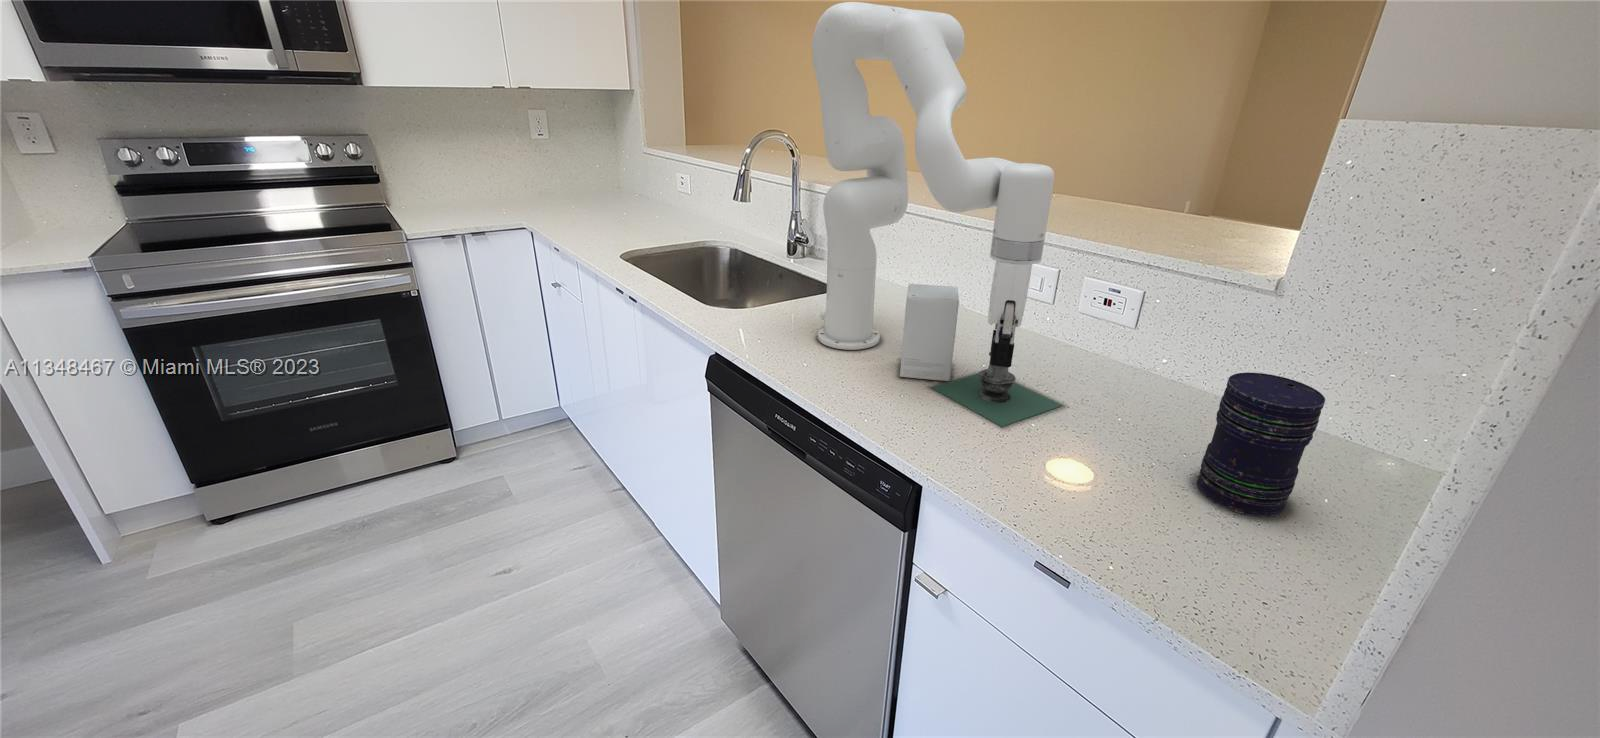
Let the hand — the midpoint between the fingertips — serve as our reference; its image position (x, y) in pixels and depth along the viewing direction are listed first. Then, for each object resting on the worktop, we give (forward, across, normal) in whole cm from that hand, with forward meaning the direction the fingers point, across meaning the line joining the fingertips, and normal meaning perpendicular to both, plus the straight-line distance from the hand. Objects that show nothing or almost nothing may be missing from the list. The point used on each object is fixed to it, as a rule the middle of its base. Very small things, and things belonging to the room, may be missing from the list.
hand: (1000, 358), depth 105 cm
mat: (+7, 0, 0) cm, 7 cm away
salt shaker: (+7, 0, 0) cm, 7 cm away
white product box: (+7, -7, -12) cm, 16 cm away
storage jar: (+7, +20, +30) cm, 37 cm away
